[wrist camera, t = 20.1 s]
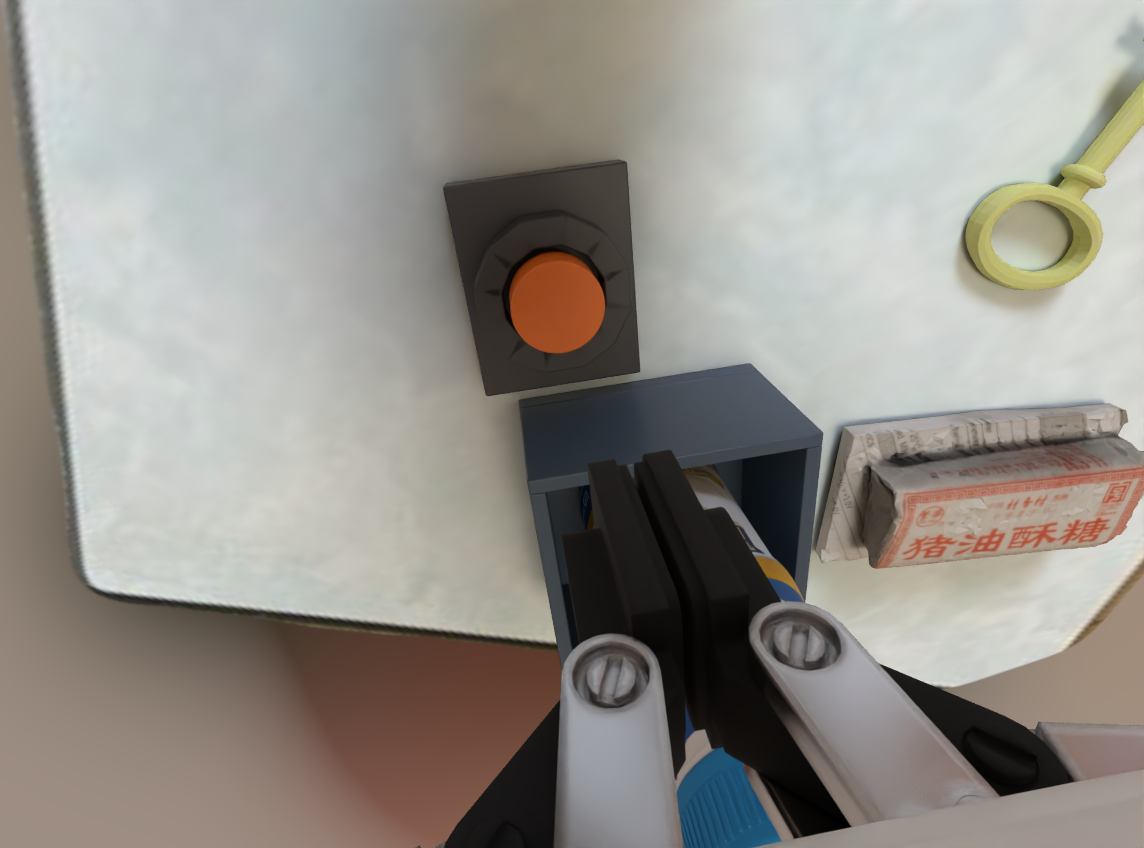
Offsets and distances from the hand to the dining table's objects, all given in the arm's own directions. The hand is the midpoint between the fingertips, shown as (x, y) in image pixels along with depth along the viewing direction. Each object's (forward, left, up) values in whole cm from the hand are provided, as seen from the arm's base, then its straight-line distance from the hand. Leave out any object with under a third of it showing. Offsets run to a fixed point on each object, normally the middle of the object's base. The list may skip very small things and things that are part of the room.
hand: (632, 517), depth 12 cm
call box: (0, 0, -19) cm, 19 cm away
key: (-2, +27, -19) cm, 33 cm away
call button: (0, 0, -16) cm, 16 cm away
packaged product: (+16, +25, -19) cm, 35 cm away
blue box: (+13, +4, -19) cm, 23 cm away
